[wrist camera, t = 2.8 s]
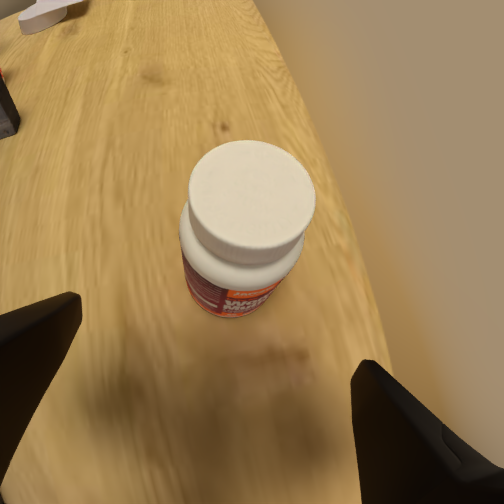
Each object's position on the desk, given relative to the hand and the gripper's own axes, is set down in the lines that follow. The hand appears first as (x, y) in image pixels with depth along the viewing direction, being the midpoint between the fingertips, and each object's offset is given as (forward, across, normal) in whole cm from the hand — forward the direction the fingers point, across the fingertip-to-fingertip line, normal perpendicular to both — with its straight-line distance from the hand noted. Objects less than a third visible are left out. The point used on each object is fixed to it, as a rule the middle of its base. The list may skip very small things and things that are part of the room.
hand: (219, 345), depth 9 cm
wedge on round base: (+39, +41, -21) cm, 61 cm away
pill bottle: (+13, 0, +4) cm, 14 cm away
